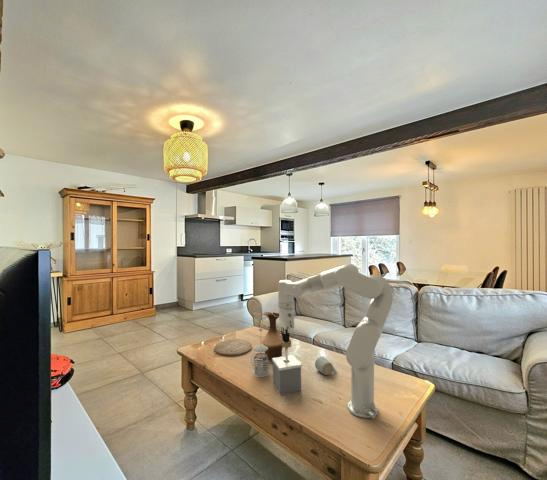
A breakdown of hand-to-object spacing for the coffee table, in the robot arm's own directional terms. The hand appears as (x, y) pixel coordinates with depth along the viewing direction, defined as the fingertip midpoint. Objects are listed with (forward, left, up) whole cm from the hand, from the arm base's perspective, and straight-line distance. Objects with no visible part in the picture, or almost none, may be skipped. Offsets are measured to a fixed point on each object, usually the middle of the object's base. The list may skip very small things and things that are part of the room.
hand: (285, 340), depth 144 cm
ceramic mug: (+7, -26, -24) cm, 36 cm away
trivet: (+57, +17, -24) cm, 64 cm away
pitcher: (+36, -5, -24) cm, 43 cm away
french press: (+18, +9, -24) cm, 31 cm away
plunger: (0, 0, -18) cm, 18 cm away
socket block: (+2, 0, -24) cm, 24 cm away
